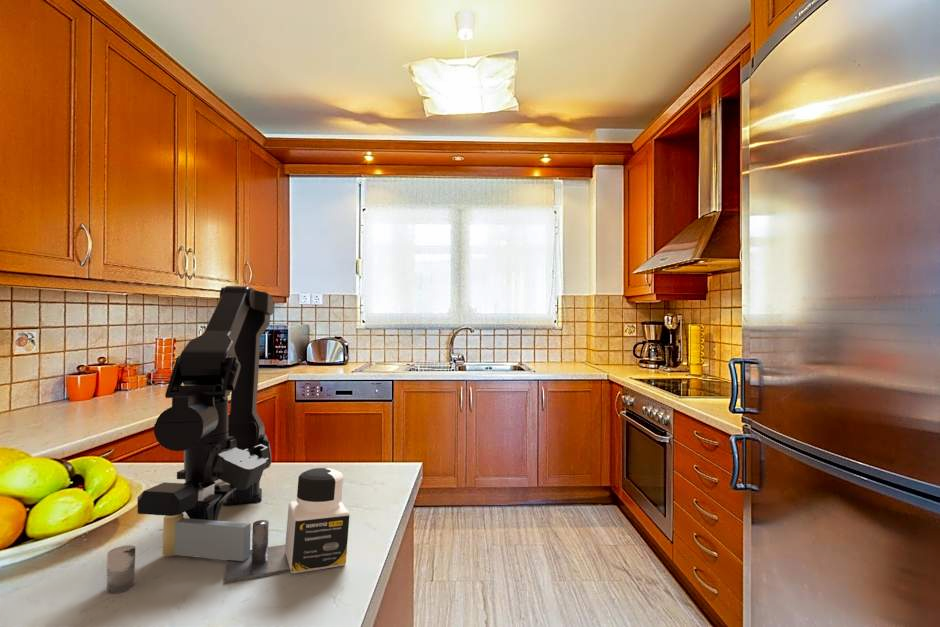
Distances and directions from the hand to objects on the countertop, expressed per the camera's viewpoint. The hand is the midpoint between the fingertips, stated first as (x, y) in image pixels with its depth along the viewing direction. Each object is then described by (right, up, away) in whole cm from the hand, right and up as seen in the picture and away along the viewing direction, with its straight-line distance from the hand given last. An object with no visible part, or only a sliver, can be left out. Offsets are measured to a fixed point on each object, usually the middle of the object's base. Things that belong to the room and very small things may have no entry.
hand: (206, 539), depth 70 cm
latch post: (-5, -1, -11) cm, 12 cm away
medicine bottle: (+17, -1, -4) cm, 17 cm away
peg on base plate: (+10, -1, -5) cm, 11 cm away
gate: (+2, -1, -3) cm, 4 cm away
